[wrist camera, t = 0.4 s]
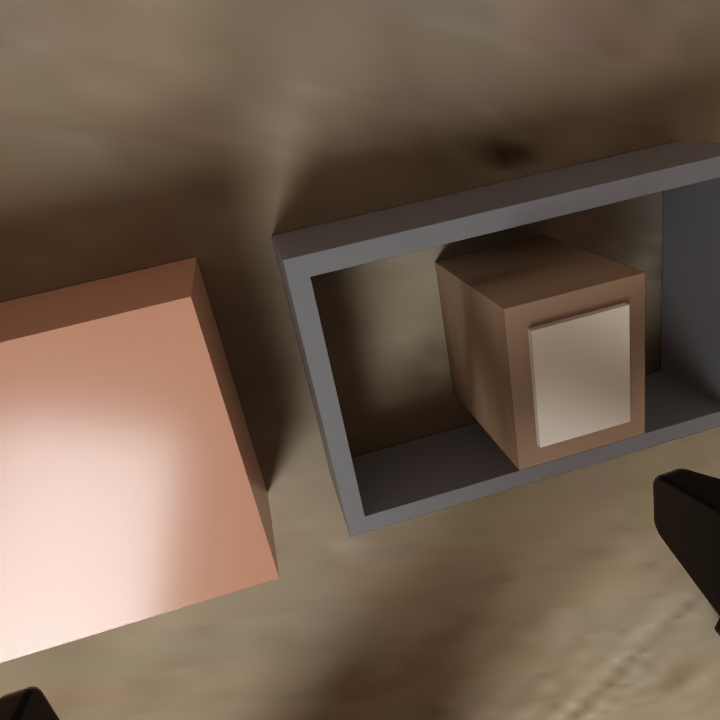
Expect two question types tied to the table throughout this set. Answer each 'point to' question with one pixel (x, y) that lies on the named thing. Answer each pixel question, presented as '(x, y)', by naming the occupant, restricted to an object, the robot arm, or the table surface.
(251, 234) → the table surface
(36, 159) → the table surface
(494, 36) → the table surface
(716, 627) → the portable speaker
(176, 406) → the terracotta stand
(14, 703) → the robot arm
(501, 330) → the walnut box
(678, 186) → the charcoal bin
